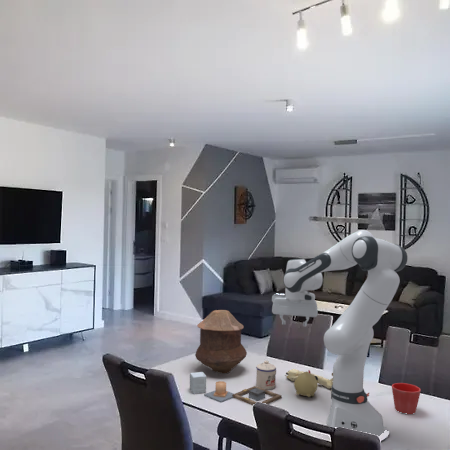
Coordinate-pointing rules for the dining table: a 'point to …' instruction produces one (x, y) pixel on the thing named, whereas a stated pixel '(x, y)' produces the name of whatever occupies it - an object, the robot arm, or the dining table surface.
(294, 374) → the cat figure
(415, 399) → the flower pot
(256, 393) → the grey square block
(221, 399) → the pad
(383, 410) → the dining table surface
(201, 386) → the product box
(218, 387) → the tan domed square base
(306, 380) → the toy pig
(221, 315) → the pottery vessel
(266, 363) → the teacup with lid
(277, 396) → the frame
